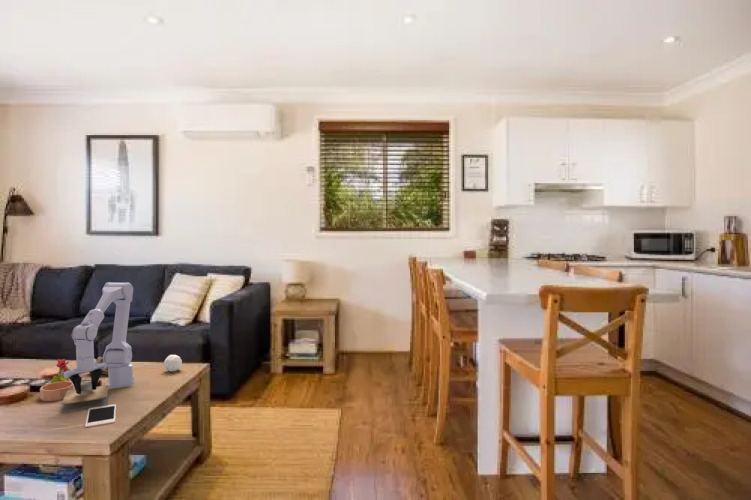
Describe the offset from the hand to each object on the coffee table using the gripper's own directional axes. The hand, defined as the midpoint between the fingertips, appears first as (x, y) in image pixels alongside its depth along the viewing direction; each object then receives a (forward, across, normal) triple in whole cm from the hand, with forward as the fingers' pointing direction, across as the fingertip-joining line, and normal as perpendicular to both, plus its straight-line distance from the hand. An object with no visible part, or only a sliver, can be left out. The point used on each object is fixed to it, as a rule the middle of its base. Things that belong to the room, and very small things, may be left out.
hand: (86, 391), depth 179 cm
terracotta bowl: (+5, +3, -17) cm, 18 cm away
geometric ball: (+5, -42, -9) cm, 43 cm away
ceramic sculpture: (+5, -22, -33) cm, 40 cm away
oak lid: (+1, 0, 0) cm, 1 cm away
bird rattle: (+5, -5, -33) cm, 34 cm away
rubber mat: (+5, 0, 0) cm, 5 cm away
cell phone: (+5, +3, +17) cm, 18 cm away
